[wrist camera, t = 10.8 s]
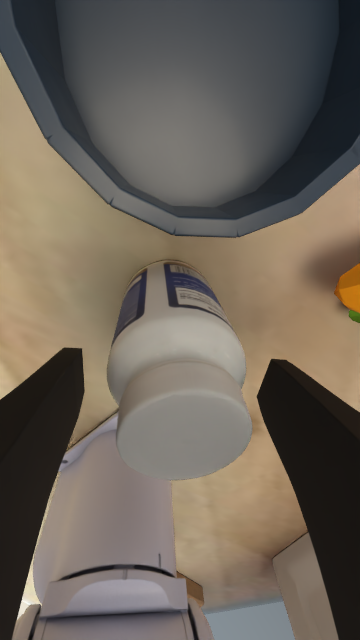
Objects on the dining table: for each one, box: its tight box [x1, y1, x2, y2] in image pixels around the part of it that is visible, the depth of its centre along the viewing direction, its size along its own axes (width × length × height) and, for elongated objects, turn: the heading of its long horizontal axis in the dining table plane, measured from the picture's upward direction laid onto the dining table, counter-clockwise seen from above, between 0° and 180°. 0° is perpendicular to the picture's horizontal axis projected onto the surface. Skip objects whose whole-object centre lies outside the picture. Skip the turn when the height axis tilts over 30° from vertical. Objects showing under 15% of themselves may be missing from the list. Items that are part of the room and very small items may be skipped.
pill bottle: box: [107, 260, 252, 480], centre depth 11 cm, size 5×5×10 cm
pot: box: [0, 0, 360, 238], centre depth 9 cm, size 12×12×5 cm
